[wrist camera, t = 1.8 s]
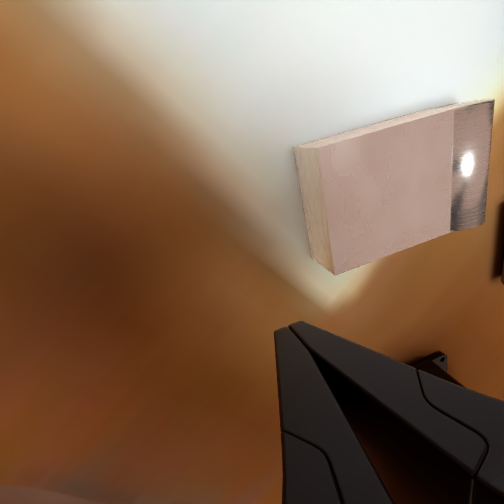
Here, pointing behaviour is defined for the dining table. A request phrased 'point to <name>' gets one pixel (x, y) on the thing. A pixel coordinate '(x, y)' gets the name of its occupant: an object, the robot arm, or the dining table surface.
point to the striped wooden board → (502, 274)
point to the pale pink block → (395, 183)
